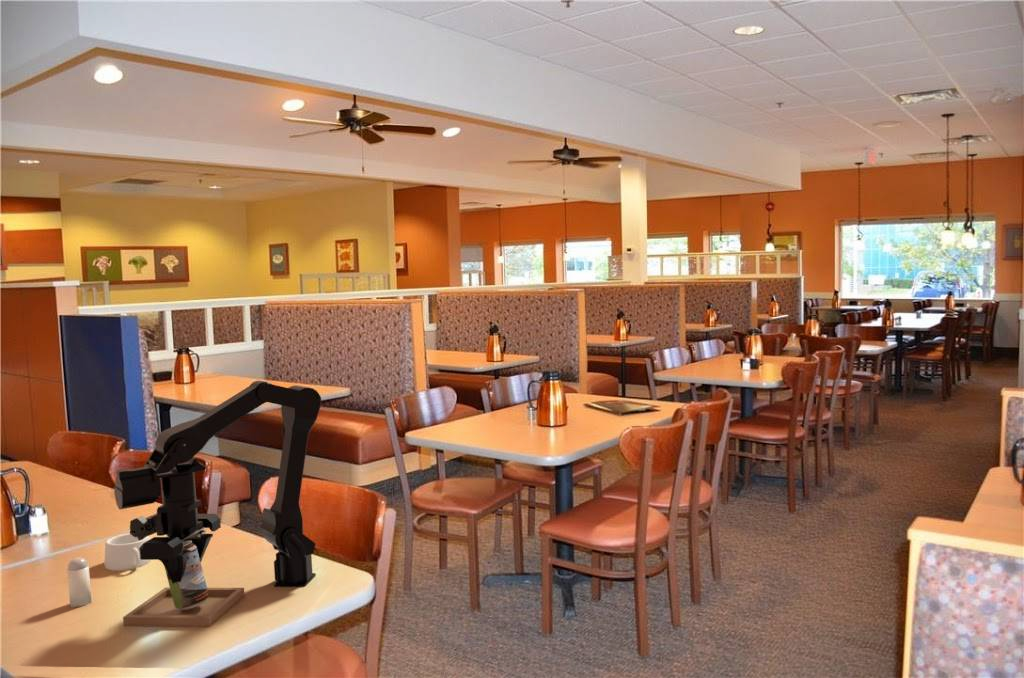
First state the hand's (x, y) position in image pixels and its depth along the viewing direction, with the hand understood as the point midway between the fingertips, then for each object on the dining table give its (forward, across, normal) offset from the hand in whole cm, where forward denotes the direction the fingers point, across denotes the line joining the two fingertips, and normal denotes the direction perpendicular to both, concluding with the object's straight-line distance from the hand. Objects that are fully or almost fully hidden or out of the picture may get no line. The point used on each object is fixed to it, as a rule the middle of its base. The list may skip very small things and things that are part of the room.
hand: (185, 581), depth 149 cm
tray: (+6, 0, 0) cm, 6 cm away
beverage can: (+5, 0, +1) cm, 5 cm away
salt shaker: (+5, -3, -23) cm, 24 cm away
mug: (+6, -23, -25) cm, 35 cm away
